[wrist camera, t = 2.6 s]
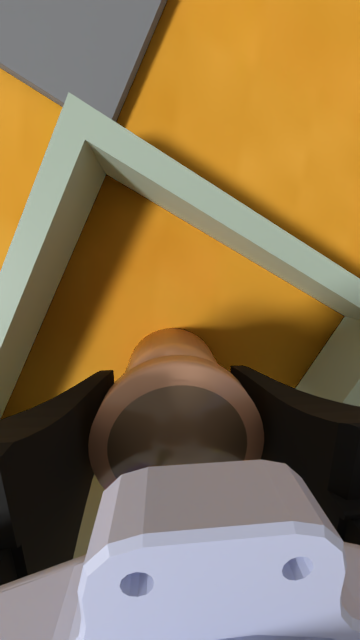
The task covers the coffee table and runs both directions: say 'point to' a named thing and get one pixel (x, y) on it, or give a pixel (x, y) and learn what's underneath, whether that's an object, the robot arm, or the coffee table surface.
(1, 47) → the slate pad
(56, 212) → the frame
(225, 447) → the terracotta pot
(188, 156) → the coffee table surface
